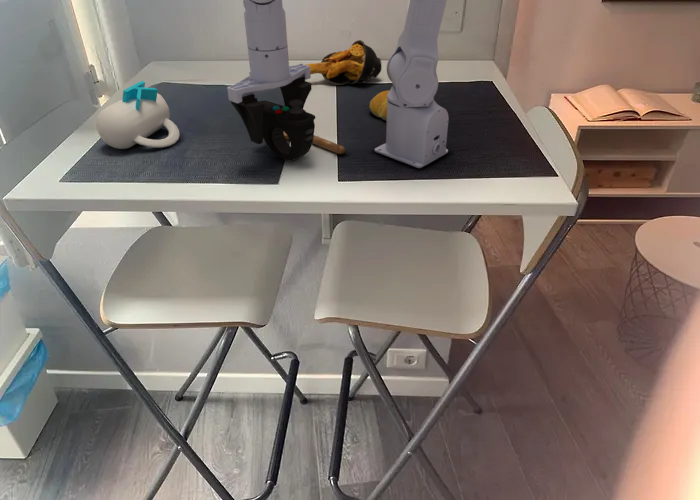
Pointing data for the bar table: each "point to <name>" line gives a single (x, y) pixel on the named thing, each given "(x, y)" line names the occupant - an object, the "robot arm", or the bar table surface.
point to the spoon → (325, 144)
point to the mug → (136, 119)
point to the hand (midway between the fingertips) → (275, 134)
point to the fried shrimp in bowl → (349, 65)
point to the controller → (288, 129)
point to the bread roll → (380, 105)
